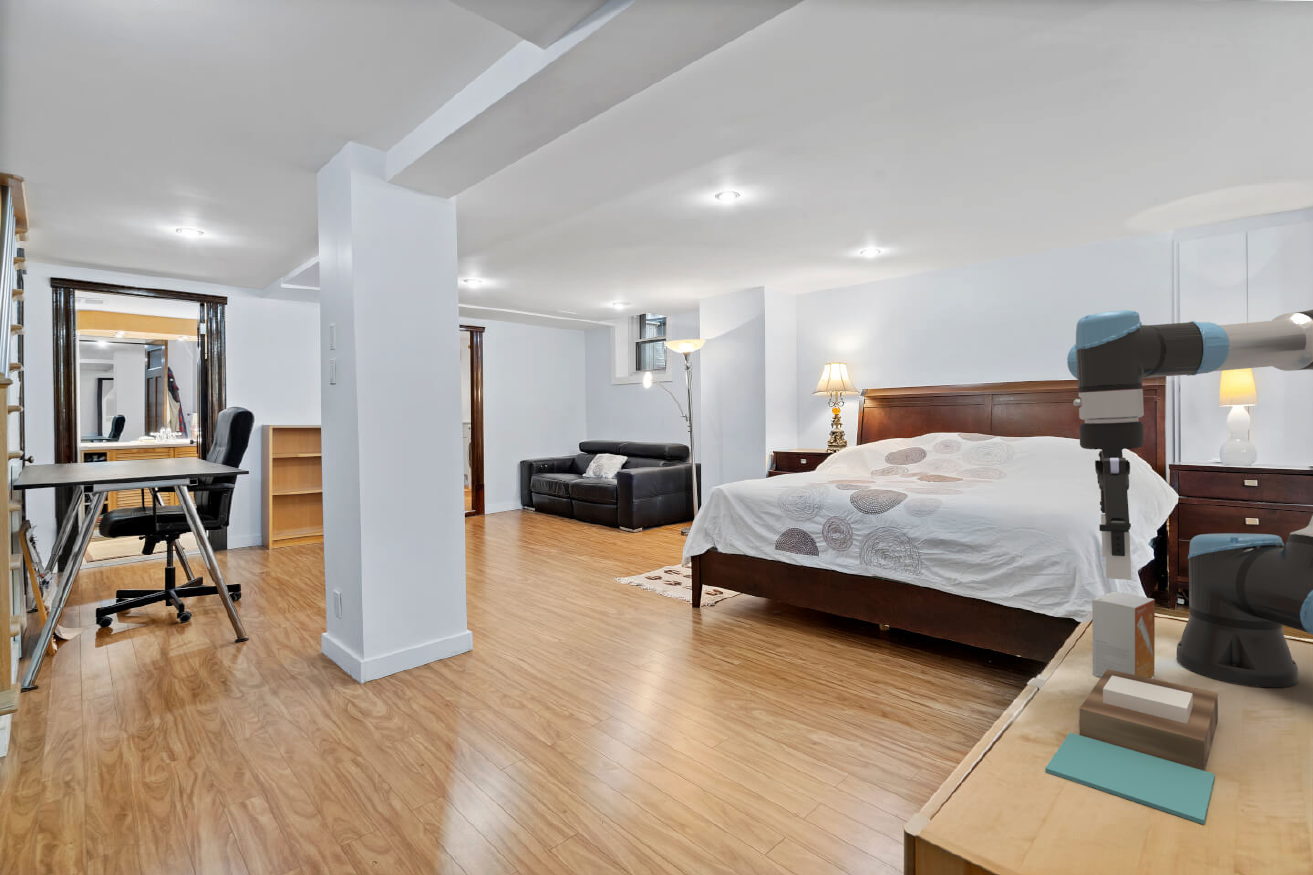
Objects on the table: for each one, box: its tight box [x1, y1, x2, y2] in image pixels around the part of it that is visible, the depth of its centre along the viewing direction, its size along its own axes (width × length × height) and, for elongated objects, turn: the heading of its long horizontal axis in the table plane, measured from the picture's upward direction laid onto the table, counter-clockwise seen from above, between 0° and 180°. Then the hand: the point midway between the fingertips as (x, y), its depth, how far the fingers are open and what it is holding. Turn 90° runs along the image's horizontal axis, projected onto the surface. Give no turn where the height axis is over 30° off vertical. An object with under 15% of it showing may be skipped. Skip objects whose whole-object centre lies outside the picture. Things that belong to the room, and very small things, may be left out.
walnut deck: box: [1078, 669, 1219, 771], centre depth 88 cm, size 18×13×4 cm
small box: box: [1091, 590, 1156, 678], centre depth 106 cm, size 8×6×13 cm
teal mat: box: [1044, 732, 1216, 825], centre depth 78 cm, size 12×15×1 cm
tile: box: [1103, 676, 1193, 724], centre depth 87 cm, size 6×9×2 cm, turn 44°
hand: (1115, 567), depth 92 cm, fingers open, 13 cm apart
